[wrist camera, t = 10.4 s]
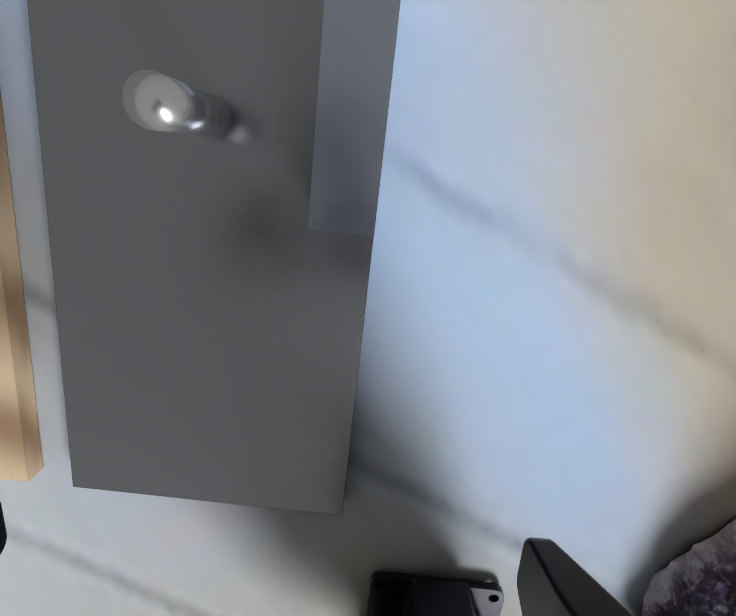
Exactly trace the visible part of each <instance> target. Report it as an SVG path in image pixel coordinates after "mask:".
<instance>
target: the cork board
mask: <svg viewBox="0 0 736 616" xmlns="http://www.w3.org/2000/svg"><path fill="white" fill-rule="evenodd" d="M42 469H43V459H42V451H41V442H40V433H39V425H38V416H37V407H36V399H35V390H34V381H33V372H32V364H31V355H30V346H29V338H28V329H27V320H26V312H25V303H24V294H23V285H22V277H21V268H20V259H19V251H18V242H17V233H16V224H15V216H14V207H13V198H12V190H11V181H10V172H9V164H8V155H7V146H6V137H5V129H4V120H3V111H2V103H1V94H0V479H7V480H16V481H26V482H28V481H29V480H31V479H32V478H33V477H34V476H35V475H36V474H37V473H38V472H39V471H40V470H42Z"/></svg>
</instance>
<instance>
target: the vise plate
mask: <svg viewBox="0 0 736 616" xmlns="http://www.w3.org/2000/svg"><path fill="white" fill-rule="evenodd" d="M27 1H28V12H29V23H30V33H31V44H32V54H33V65H34V76H35V86H36V97H37V108H38V118H39V129H40V140H41V150H42V161H43V171H44V182H45V193H46V203H47V214H48V225H49V235H50V246H51V257H52V267H53V278H54V289H55V299H56V310H57V320H58V331H59V342H60V352H61V363H62V374H63V384H64V395H65V406H66V416H67V427H68V437H69V448H70V459H71V469H72V480H73V487H81V488H91V489H100V490H109V491H119V492H128V493H137V494H147V495H156V496H165V497H175V498H184V499H193V500H203V501H212V502H221V503H230V504H240V505H249V506H258V507H268V508H277V509H286V510H296V511H305V512H314V513H324V514H333V515H342V509H343V501H344V492H345V483H346V474H347V465H348V456H349V447H350V439H351V430H352V421H353V412H354V403H355V394H356V385H357V377H358V368H359V359H360V350H361V341H362V332H363V324H364V315H365V306H366V297H367V288H368V279H369V270H370V262H371V253H372V244H373V236H374V230H375V221H376V212H377V203H378V194H379V186H380V177H381V168H382V159H383V150H384V141H385V133H386V124H387V115H388V106H389V97H390V88H391V80H392V71H393V62H394V53H395V44H396V35H397V27H398V18H399V9H400V0H27Z"/></svg>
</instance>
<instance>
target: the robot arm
mask: <svg viewBox="0 0 736 616" xmlns="http://www.w3.org/2000/svg"><path fill="white" fill-rule="evenodd" d="M6 540H7V533H6V527H5V522H4V516H3V511H2V506H1V502H0V554H1V553H2V551H3V549H4V547H5V544H6ZM379 582H382V583H379ZM517 588H518V595H519V600H520V605H521V610H522V615H523V616H633V615H632V614H631V613H630V612H629V611H628V610H627V609H626V608H625V607H623V606H622V605H621V604H620V603H619V602H618V601H617V600H616V599H615V598H614V597H613V596H612V595H611V594H610V593H608V592H607V591H606V590H605V589H604V588H603V587H602V586H601V585H600V584H599V583H598V582H597V581H596V580H594V579H593V578H592V577H591V576H590V575H589V574H588V573H587V572H586V571H585V570H584V569H583V568H582V567H580V566H579V565H578V564H577V563H576V562H575V561H574V560H573V559H572V558H571V557H570V556H569V555H568V554H567V553H565V552H564V551H563V550H562V549H561V548H560V547H559V546H558V545H557V544H556V543H555V542H553V541H552V540H550V539H544V538H531V537H530V538H527V539H526V540H525V542H524V545H523V550H522V555H521V560H520V565H519V570H518V575H517ZM493 594H495V595H493ZM503 602H504V595H503V591H502V588H501V587H500V586H499V585H498V584H494V583H486V582H476V581H467V580H458V579H448V578H439V577H429V576H420V575H411V574H401V573H392V572H382V571H381V572H376V573H374V574H373V575H372V576H371V579H370V586H369V593H368V600H367V607H366V614H365V616H500V613H501V609H502V606H503Z"/></svg>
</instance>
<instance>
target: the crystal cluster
mask: <svg viewBox="0 0 736 616" xmlns="http://www.w3.org/2000/svg"><path fill="white" fill-rule="evenodd" d="M642 616H736V519H734V520H733V521H732V522H730V523H729V524H728V525H726V526H725V527H724V528H723V529H722V530H721V531H719V532H718V533H717V534H715V535H714V536H712V537H710V538H708V539H706V540H704V541H702V542H700V543H697V544H694V545H693V547H692V549H691V550H690V551H689V552H687V553H685V554H683V555H681V556H680V557H678V558H676V559H674V560H672V561H671V562H670V563H669V565H668V566H667V567H665V568H664V569H662V570H660V571H658V572H657V573H655V575H654V576H653V577H652V578H651V581H650V584H649V587H648V590H647V591H646V593H645V594H644V596H643V606H642Z"/></svg>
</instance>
